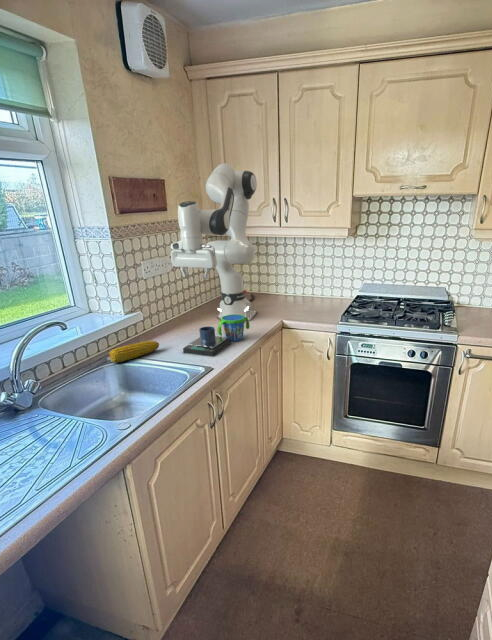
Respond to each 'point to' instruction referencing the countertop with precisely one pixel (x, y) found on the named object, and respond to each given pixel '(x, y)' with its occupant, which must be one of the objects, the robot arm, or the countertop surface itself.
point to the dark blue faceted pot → (207, 334)
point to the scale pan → (208, 345)
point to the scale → (206, 349)
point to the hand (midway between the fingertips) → (195, 278)
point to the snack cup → (233, 326)
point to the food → (132, 351)
